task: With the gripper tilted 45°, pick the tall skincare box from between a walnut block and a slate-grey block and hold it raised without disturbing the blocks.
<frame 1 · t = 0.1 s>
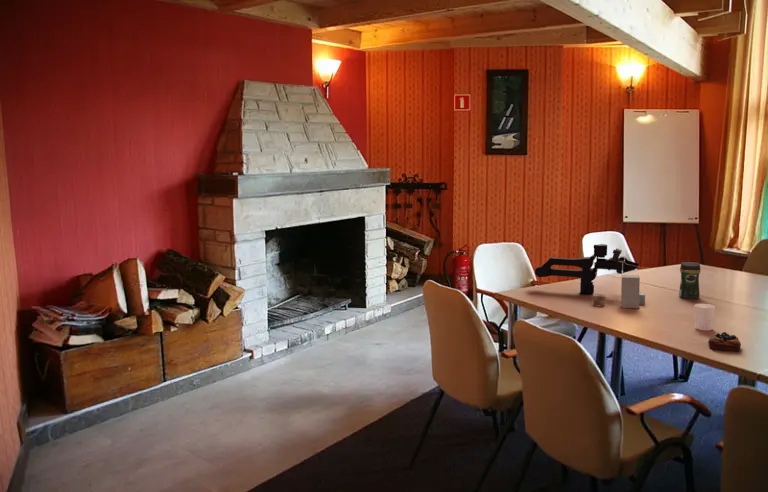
hand: (638, 265, 325), 17 cm above the table, tool horizontal, fingers open, 9 cm apart
slate-grey block: (639, 303, 314), on the table
white cup: (703, 329, 268), on the table
coffee jar: (688, 297, 325), on the table
pastry: (724, 348, 242), on the table
walnut block: (599, 304, 313), on the table
skincare box: (629, 307, 307), on the table
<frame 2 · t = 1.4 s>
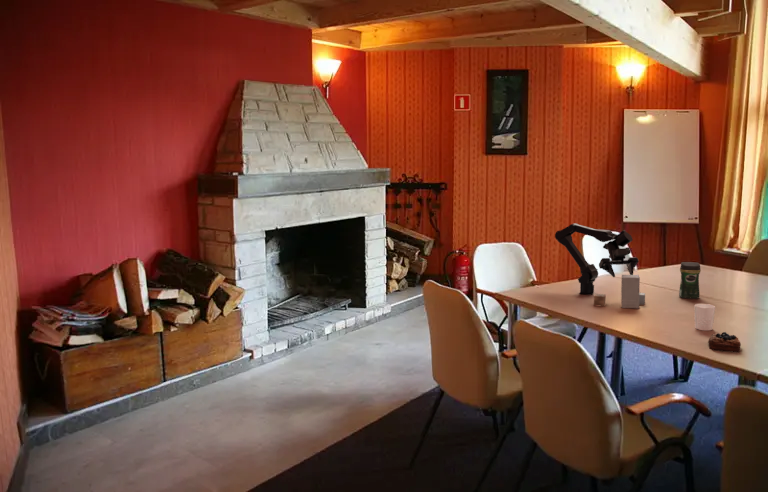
hand: (623, 276, 313), 14 cm above the table, tool tilted 45°, fingers open, 9 cm apart
nothing on the table moved.
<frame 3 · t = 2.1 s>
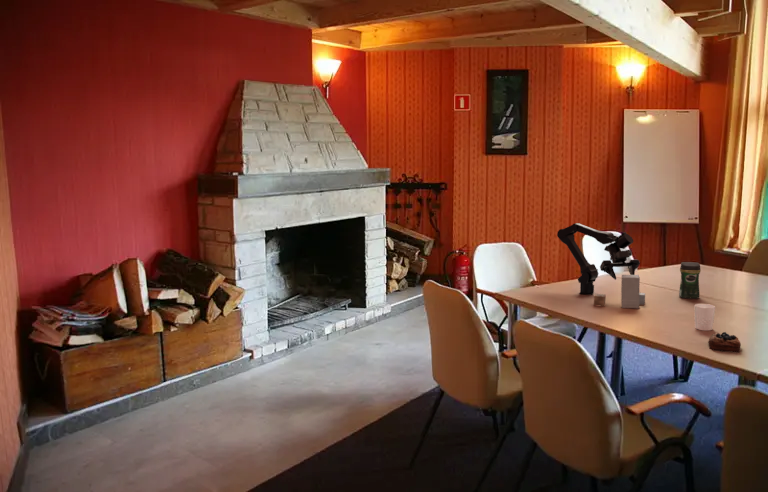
hand: (624, 278, 312), 13 cm above the table, tool tilted 45°, fingers open, 9 cm apart
nothing on the table moved.
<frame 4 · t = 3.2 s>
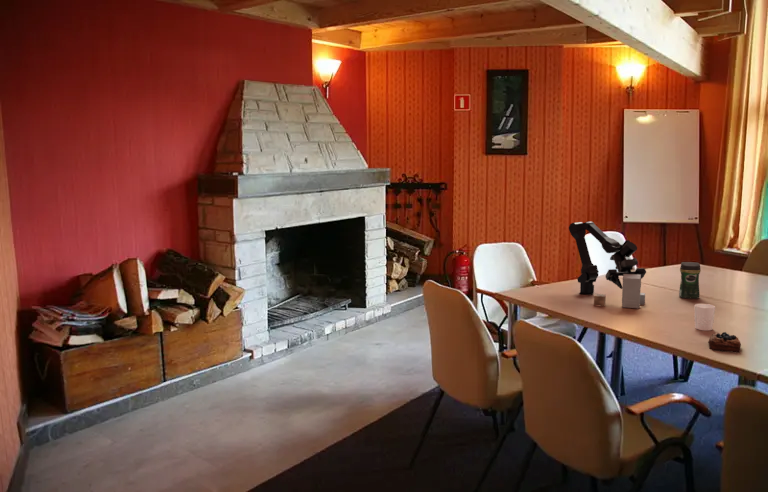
hand: (631, 288, 306), 9 cm above the table, tool tilted 45°, fingers closed on skincare box, 9 cm apart
skincare box: (630, 306, 307), on the table, touching gripper
everything else where it was.
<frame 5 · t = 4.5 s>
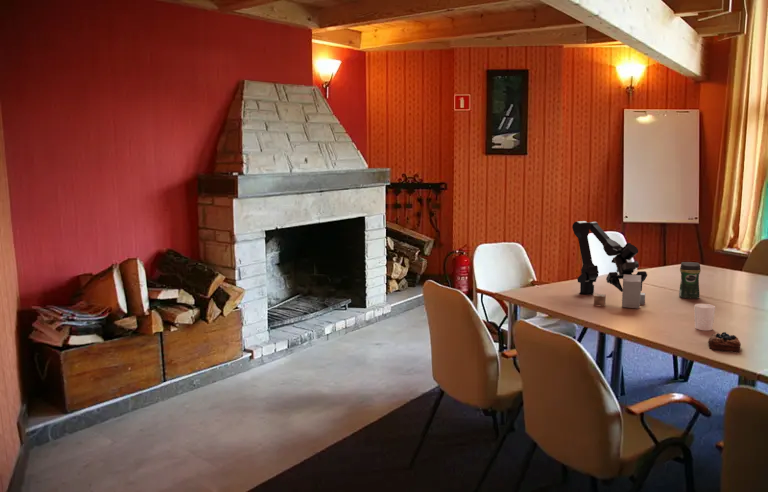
hand: (631, 291, 304), 8 cm above the table, tool tilted 45°, fingers closed on skincare box, 9 cm apart
skincare box: (630, 305, 307), point 1 cm above the table, touching gripper
everything else where it was.
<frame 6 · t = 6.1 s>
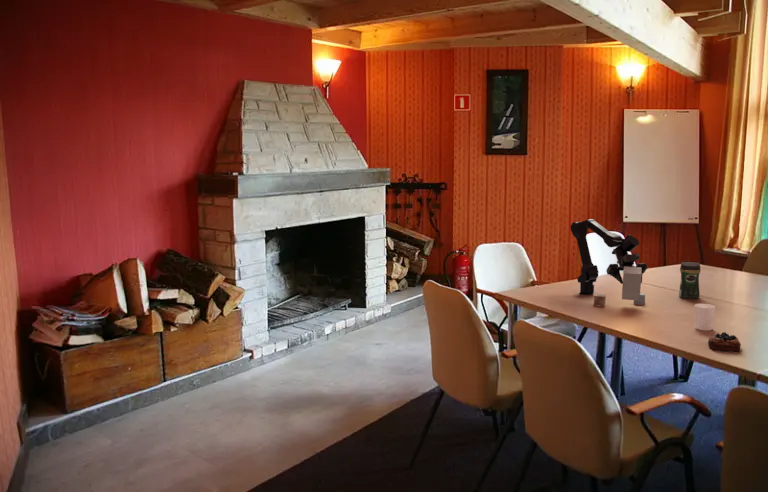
hand: (631, 283, 304), 12 cm above the table, tool tilted 45°, fingers closed on skincare box, 9 cm apart
skincare box: (630, 297, 307), point 5 cm above the table, touching gripper
everything else where it was.
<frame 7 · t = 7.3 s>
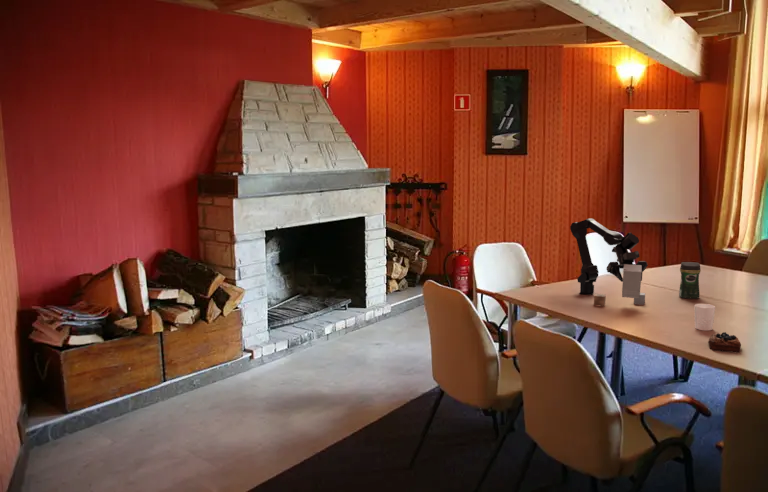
hand: (631, 281, 304), 13 cm above the table, tool tilted 45°, fingers closed on skincare box, 9 cm apart
skincare box: (630, 295, 307), point 6 cm above the table, touching gripper
everything else where it was.
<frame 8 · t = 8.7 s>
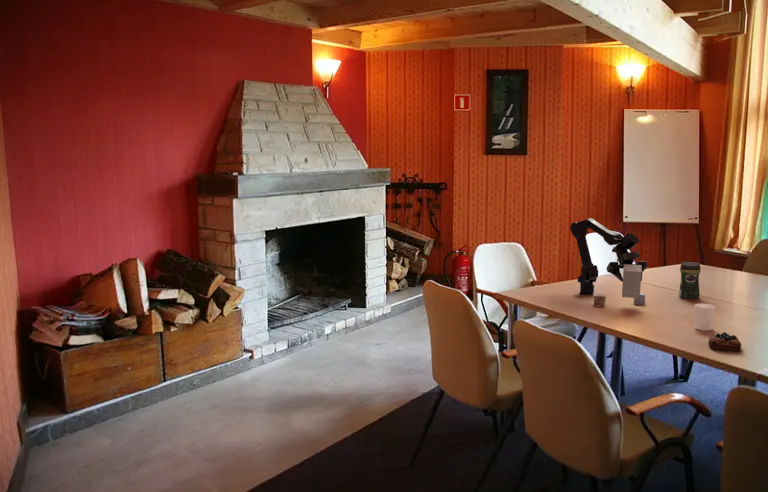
hand: (631, 281, 304), 13 cm above the table, tool tilted 45°, fingers closed on skincare box, 9 cm apart
skincare box: (630, 295, 307), point 6 cm above the table, touching gripper
everything else where it was.
at the end: the gripper is holding skincare box; skincare box point 5.7 cm above the table; slate-grey block moved 0.1 cm from its start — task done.
